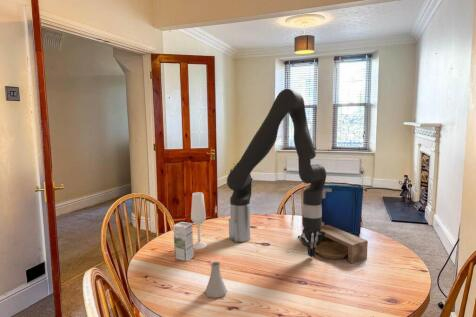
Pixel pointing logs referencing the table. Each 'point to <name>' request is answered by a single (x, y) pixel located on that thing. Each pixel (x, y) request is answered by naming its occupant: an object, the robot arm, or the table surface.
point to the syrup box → (183, 241)
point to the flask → (215, 282)
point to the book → (342, 206)
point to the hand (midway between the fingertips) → (311, 256)
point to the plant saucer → (331, 250)
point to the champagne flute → (198, 215)
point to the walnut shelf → (347, 242)
